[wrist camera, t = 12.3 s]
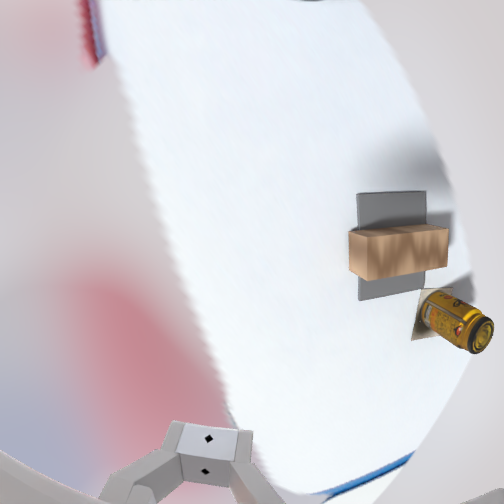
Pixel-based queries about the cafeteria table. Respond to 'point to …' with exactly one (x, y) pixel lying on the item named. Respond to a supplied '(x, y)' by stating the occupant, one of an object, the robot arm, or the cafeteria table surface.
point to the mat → (384, 216)
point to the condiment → (451, 321)
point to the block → (397, 250)
